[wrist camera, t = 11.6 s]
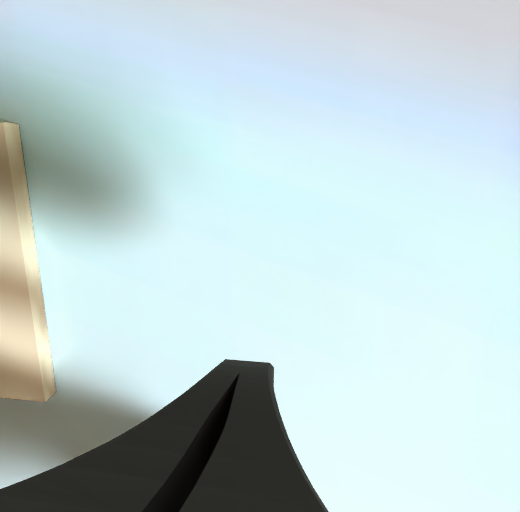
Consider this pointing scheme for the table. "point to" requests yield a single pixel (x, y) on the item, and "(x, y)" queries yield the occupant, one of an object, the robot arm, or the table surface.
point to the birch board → (20, 284)
